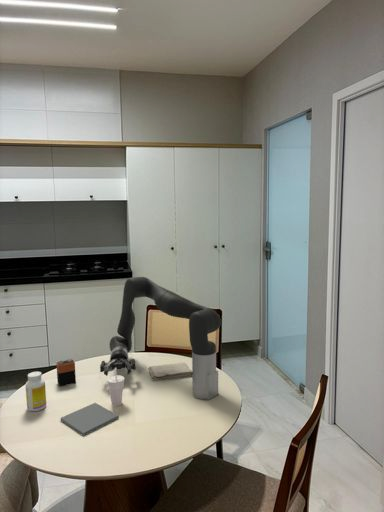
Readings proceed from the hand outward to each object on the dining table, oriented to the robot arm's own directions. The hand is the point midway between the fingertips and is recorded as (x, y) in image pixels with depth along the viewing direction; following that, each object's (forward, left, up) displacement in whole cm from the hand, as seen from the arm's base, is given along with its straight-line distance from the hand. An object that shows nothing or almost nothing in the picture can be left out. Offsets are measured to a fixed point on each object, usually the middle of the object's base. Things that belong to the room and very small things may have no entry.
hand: (117, 372), depth 156 cm
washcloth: (-4, -25, -8) cm, 27 cm away
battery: (+22, +10, -8) cm, 25 cm away
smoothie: (-8, +7, -8) cm, 13 cm away
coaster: (-10, +20, -8) cm, 23 cm away
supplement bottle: (+12, +28, -8) cm, 31 cm away
